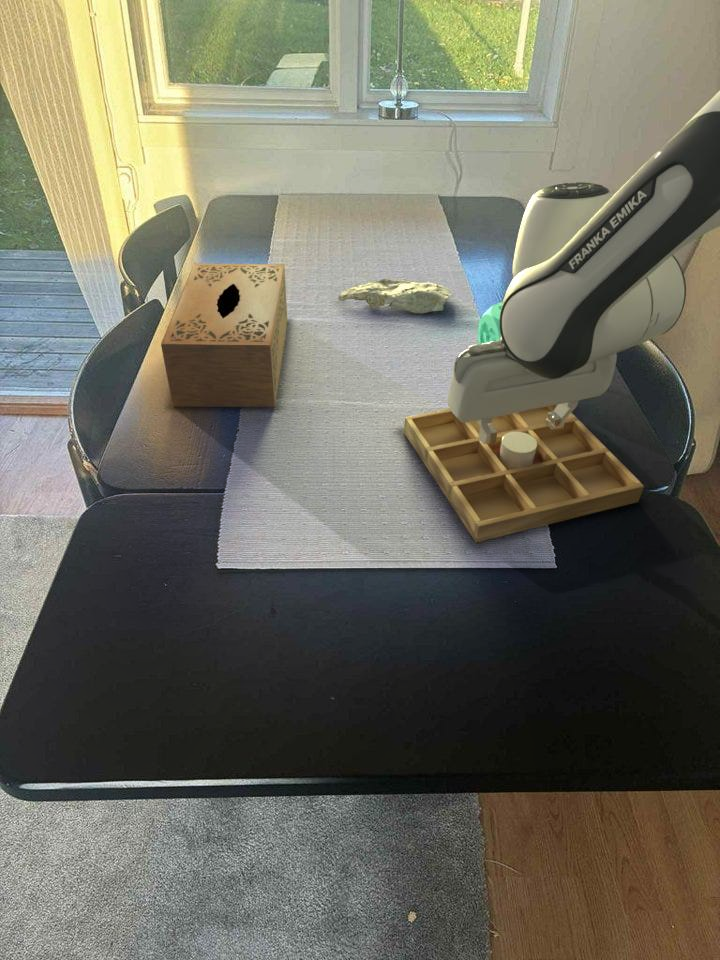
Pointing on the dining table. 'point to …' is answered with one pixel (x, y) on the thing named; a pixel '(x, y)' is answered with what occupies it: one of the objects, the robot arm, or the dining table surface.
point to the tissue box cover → (227, 336)
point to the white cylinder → (517, 450)
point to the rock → (400, 295)
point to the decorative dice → (490, 325)
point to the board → (520, 471)
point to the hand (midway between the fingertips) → (520, 433)
